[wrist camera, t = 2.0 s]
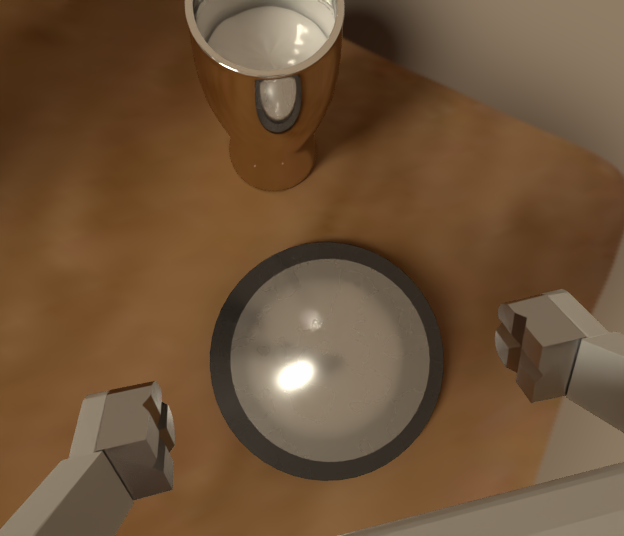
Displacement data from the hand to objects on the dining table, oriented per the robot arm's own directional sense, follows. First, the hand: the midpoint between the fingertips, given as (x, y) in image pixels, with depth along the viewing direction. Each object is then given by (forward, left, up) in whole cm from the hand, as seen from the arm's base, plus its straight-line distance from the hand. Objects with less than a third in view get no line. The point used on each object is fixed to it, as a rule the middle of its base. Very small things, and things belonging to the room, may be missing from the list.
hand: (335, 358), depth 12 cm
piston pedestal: (+1, +1, -21) cm, 21 cm away
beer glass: (-12, +8, -22) cm, 26 cm away
